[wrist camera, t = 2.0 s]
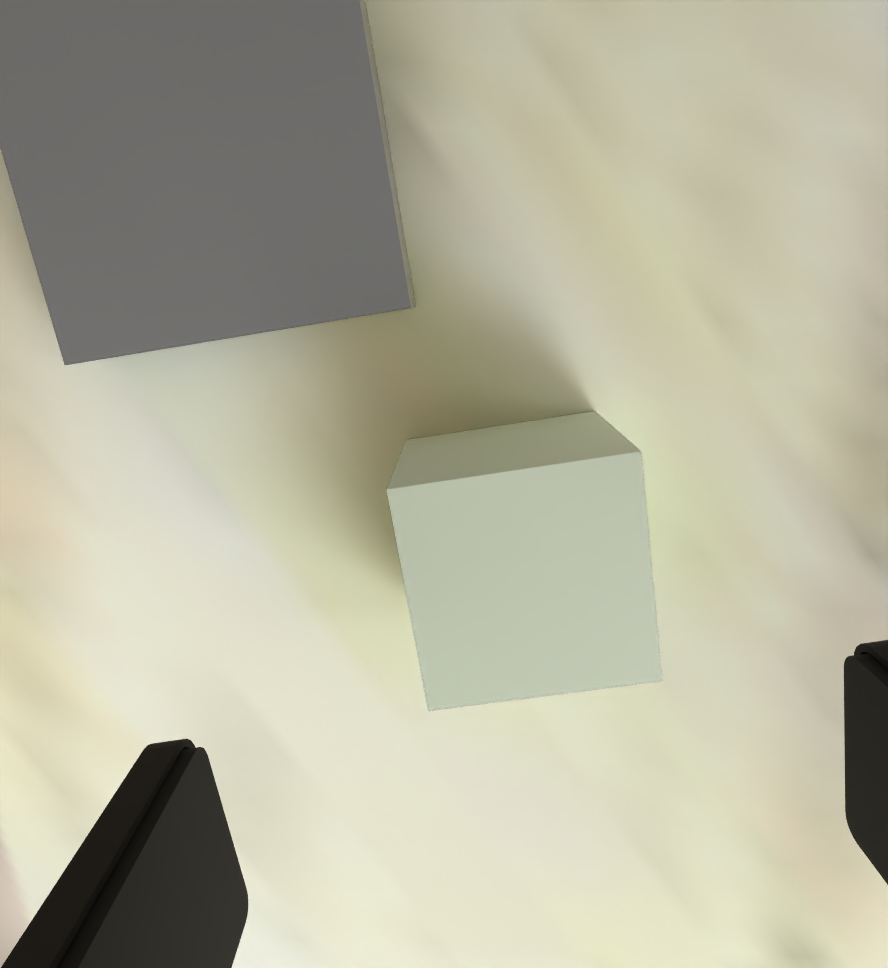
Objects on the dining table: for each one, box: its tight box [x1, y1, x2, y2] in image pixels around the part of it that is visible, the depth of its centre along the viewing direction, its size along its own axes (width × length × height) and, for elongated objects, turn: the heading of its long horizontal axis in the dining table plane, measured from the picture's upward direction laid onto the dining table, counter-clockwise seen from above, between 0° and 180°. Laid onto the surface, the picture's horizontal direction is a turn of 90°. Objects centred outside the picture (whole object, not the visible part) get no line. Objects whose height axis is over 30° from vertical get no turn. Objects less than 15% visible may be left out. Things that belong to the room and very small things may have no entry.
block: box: [386, 411, 663, 711], centre depth 20 cm, size 6×6×6 cm
